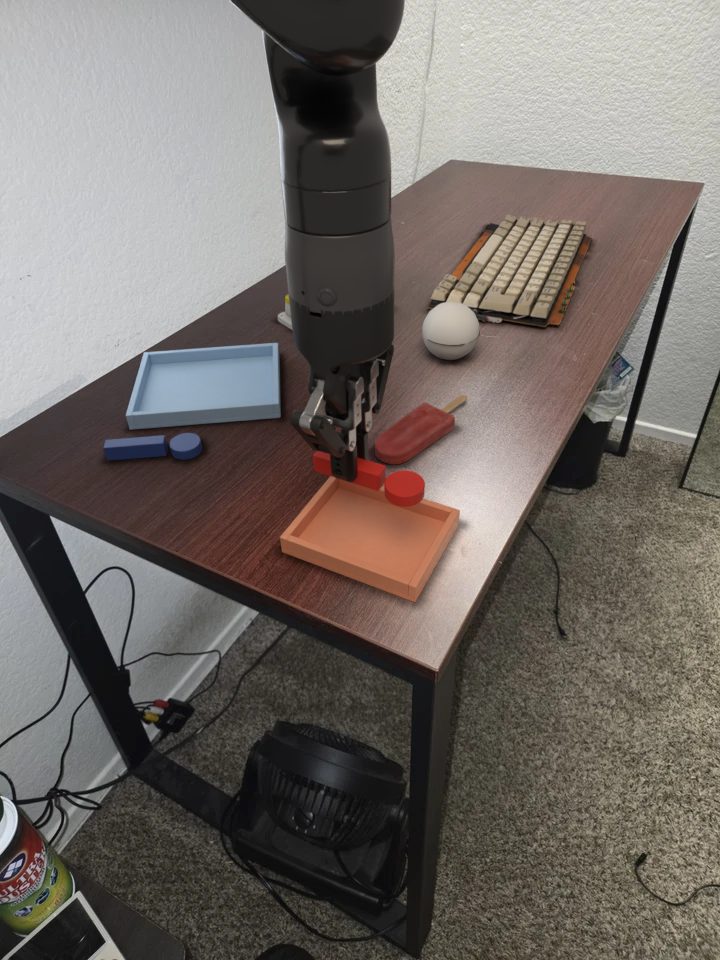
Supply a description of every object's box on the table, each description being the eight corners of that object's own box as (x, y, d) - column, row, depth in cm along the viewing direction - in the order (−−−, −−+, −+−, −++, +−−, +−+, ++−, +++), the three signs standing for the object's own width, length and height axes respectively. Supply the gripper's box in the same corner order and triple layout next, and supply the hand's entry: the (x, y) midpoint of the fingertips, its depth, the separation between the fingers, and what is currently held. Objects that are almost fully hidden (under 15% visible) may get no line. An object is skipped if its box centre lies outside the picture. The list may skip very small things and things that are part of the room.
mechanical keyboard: (487, 225, 122) (489, 206, 120) (593, 238, 116) (597, 219, 114) (424, 315, 96) (426, 293, 94) (557, 337, 90) (561, 314, 88)
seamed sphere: (410, 362, 86) (412, 310, 81) (436, 337, 90) (438, 287, 86) (482, 382, 82) (488, 328, 77) (504, 355, 86) (511, 303, 82)
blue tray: (129, 429, 76) (125, 415, 74) (147, 365, 87) (143, 352, 85) (280, 417, 77) (278, 403, 76) (279, 355, 88) (277, 342, 86)
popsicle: (482, 396, 76) (397, 459, 68) (480, 408, 77) (397, 472, 69) (450, 382, 78) (365, 442, 70) (450, 394, 79) (365, 454, 72)
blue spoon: (105, 466, 71) (101, 453, 70) (111, 447, 73) (107, 434, 72) (201, 458, 71) (198, 445, 70) (203, 439, 74) (200, 426, 73)
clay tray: (281, 552, 61) (279, 537, 59) (335, 485, 68) (334, 470, 66) (415, 602, 56) (416, 587, 55) (458, 525, 63) (460, 509, 61)
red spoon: (308, 477, 58) (307, 461, 57) (327, 455, 60) (326, 439, 59) (414, 512, 54) (415, 495, 53) (430, 487, 57) (431, 471, 55)
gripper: (340, 240, 52) (348, 419, 63) (241, 313, 43) (271, 506, 54) (428, 255, 49) (420, 439, 61) (342, 336, 40) (352, 534, 52)
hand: (350, 470), depth 57 cm, fingers closed on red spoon, 1 cm apart
